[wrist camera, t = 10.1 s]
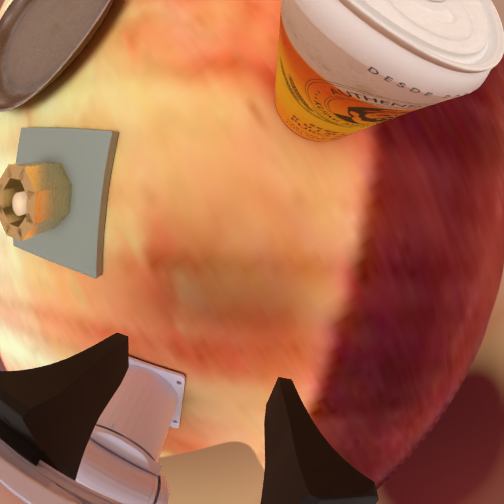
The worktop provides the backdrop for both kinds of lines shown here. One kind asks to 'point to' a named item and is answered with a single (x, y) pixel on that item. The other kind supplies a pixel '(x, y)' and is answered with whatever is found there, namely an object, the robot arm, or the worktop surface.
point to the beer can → (378, 59)
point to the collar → (34, 198)
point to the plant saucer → (42, 43)
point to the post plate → (72, 194)
